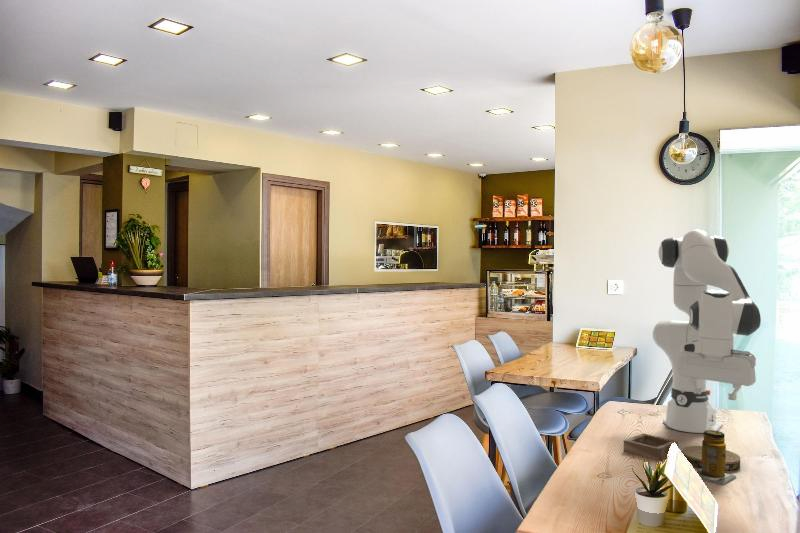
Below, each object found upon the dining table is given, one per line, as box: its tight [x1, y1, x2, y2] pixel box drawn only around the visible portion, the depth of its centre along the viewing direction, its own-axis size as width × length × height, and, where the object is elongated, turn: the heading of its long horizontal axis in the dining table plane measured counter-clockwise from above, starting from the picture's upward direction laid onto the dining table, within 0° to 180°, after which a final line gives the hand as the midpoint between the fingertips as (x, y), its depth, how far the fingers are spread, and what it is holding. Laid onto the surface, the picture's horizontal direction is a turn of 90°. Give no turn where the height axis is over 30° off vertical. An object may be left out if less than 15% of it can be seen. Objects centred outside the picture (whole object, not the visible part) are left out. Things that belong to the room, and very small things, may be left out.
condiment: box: [696, 430, 732, 481], centre depth 177 cm, size 7×8×12 cm
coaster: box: [698, 468, 737, 486], centre depth 177 cm, size 9×9×1 cm
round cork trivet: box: [681, 445, 741, 473], centre depth 190 cm, size 16×16×3 cm
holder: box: [623, 433, 679, 461], centre depth 200 cm, size 13×12×4 cm
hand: (714, 396), depth 177 cm, fingers open, 8 cm apart
